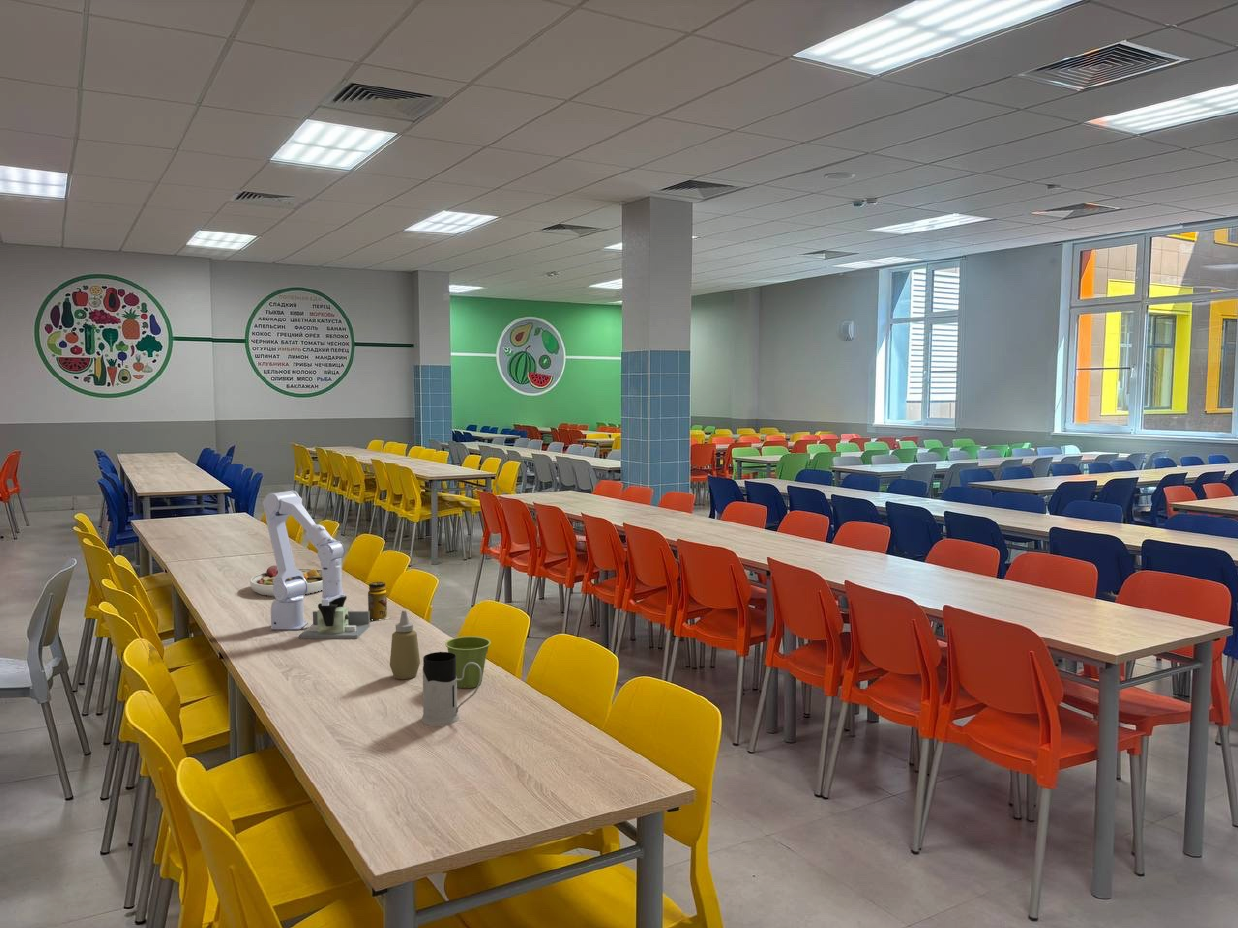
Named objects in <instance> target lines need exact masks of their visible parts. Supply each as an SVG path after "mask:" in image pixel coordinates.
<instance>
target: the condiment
mask: <svg viewBox="0 0 1238 928" xmlns="http://www.w3.org/2000/svg"><path fill="white" fill-rule="evenodd" d="M368 589H369V590H368V591H367V602H368V603H367V605H368V607H367V609H368V610H367V611H370V619H373V620H376V621H380V620H379V619H385V620H389V619H391V617H390V616H388V615H387V614H388V612H387V611H388V609H387V608H388V606H387V605H388V604H387V601H388V600H387V599H388V598H387V590H386V583H385V582H383V581H373V582H370V583H368ZM373 620H372V621H371V622H374V621H373Z"/></svg>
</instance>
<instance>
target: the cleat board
mask: <svg viewBox="0 0 1238 928" xmlns="http://www.w3.org/2000/svg"><path fill="white" fill-rule="evenodd" d="M317 611H318V610H313V611H312V624H311V625H310V626H309V627H307V628H306V629H305V630H304V631H302V632H301V633H300V634H299V635H298V639H342V640H343V639H345V640H346V639H348V640H349V639H353V640H354V639H356V640H357V639H358V638H360V637H361V635H362V634H364V633H365V632H366V630H367V629H368V628H370V627H371V621H370V611H368V610H348V614H349V619H348V625H345V632H344V633H318V617H317Z"/></svg>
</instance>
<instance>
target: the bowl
mask: <svg viewBox="0 0 1238 928" xmlns="http://www.w3.org/2000/svg"><path fill="white" fill-rule="evenodd" d="M297 569H298V570H299V571H301V572H302V573H303V575H304V578H305V580H306V581H307V583H308V591H307V593H306V594H307V595H311V594H310V593H312V594H315V593H314V592H316V593H319V592H322V591H323V577H322V569H320V568H319V569H317V568H297ZM277 574H278V569H277V565H271V566H269V567H268V568H267V569H266V571H265V572H264V573H260V574H257V575H255V576H252V577H251V578H250V579H249V580H250V581H249V583H250V584H249V585H250V588H251V589H252V590H253V591H254V592H255V593H257V594H259V595H261V596H266V595H267V597H275V596H274V594H273V579H274V577H275V576H276V575H277ZM290 579H291V578H288V579H286V580H290ZM286 580H285V581H286ZM321 590H322V591H321ZM318 591H319V592H318Z"/></svg>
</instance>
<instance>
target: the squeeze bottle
mask: <svg viewBox="0 0 1238 928" xmlns="http://www.w3.org/2000/svg"><path fill="white" fill-rule="evenodd" d="M417 634H418V632H416V631H415V630H414V623H412V622H410V621H409V617H408V611H407V610H406V609H405V610H402V611H401V613H400V619H399V622H398V623H395V631H394V632H393V633H392V634H391V644H390V645H391V646H390V657H389V667H390V670H391V672H392V674H393V678H395V679H397V680H408V679H410V680H411V679H413V678H415V677H416V676H417V675H418V671H419V668H420V665H421V661H420V660H421V658H420V651H419V641H418V635H417Z"/></svg>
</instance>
